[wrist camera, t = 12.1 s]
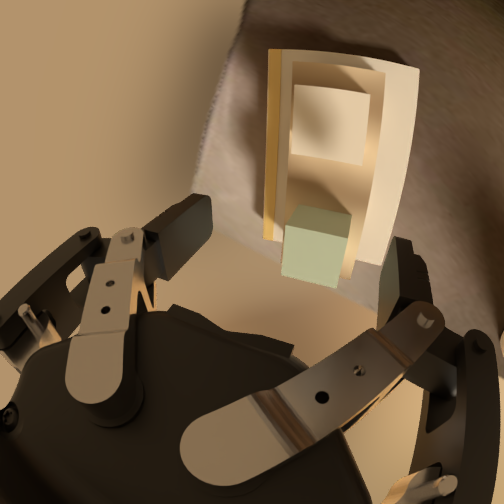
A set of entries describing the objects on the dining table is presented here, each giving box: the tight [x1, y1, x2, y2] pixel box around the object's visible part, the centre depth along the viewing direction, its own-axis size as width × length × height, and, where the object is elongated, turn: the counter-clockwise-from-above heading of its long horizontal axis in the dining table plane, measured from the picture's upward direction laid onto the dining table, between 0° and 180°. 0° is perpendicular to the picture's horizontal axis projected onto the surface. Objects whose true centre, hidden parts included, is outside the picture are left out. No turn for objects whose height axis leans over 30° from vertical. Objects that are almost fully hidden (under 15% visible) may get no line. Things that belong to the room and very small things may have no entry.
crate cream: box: [291, 85, 370, 166], centre depth 14 cm, size 4×4×4 cm
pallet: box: [281, 61, 386, 280], centre depth 20 cm, size 16×6×4 cm, turn 0°
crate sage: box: [281, 204, 352, 288], centre depth 19 cm, size 4×4×4 cm
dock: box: [263, 49, 419, 266], centre depth 22 cm, size 18×12×3 cm, turn 0°
